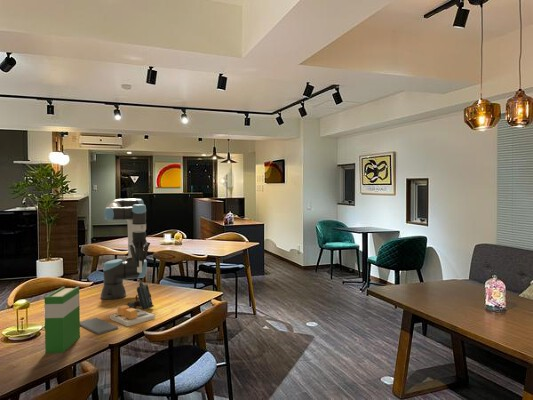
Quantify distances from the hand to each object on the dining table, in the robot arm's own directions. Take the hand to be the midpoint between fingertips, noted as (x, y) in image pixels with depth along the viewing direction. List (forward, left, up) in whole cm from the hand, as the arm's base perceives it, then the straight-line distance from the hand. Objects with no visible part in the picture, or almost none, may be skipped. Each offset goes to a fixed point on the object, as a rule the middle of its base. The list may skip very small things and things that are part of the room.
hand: (139, 272), depth 227 cm
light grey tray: (+11, -11, -22) cm, 27 cm away
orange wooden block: (+7, -14, -19) cm, 25 cm away
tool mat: (+8, -29, -22) cm, 38 cm away
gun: (-2, +2, -22) cm, 22 cm away
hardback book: (+19, -50, -22) cm, 58 cm away
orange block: (+15, -15, -19) cm, 29 cm away
